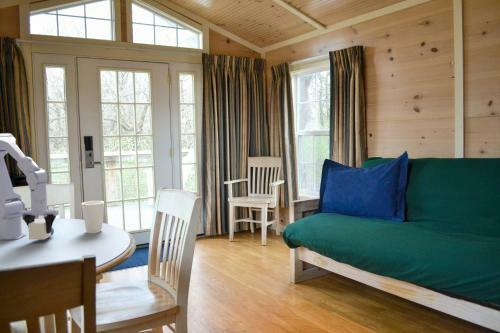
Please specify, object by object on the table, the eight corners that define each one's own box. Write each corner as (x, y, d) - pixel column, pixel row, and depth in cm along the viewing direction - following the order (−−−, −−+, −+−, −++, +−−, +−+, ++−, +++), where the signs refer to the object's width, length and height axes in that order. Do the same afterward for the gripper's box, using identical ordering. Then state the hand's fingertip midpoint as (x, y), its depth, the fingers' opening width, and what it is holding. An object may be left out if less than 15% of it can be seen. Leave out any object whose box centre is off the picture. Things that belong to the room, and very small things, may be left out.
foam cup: (97, 234, 179) (96, 204, 178) (78, 233, 181) (76, 204, 179) (109, 229, 188) (108, 201, 187) (90, 228, 190) (89, 200, 189)
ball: (39, 224, 173) (45, 227, 177) (37, 236, 171) (43, 239, 175) (51, 224, 173) (56, 227, 177) (49, 236, 171) (54, 238, 175)
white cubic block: (29, 239, 165) (28, 223, 165) (36, 235, 171) (35, 220, 171) (44, 239, 165) (43, 223, 165) (51, 235, 171) (50, 220, 171)
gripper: (15, 201, 163) (17, 235, 164) (52, 201, 163) (54, 235, 165) (24, 198, 170) (26, 231, 171) (60, 198, 170) (61, 230, 172)
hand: (40, 232), depth 168 cm, fingers closed on white cubic block, 6 cm apart
